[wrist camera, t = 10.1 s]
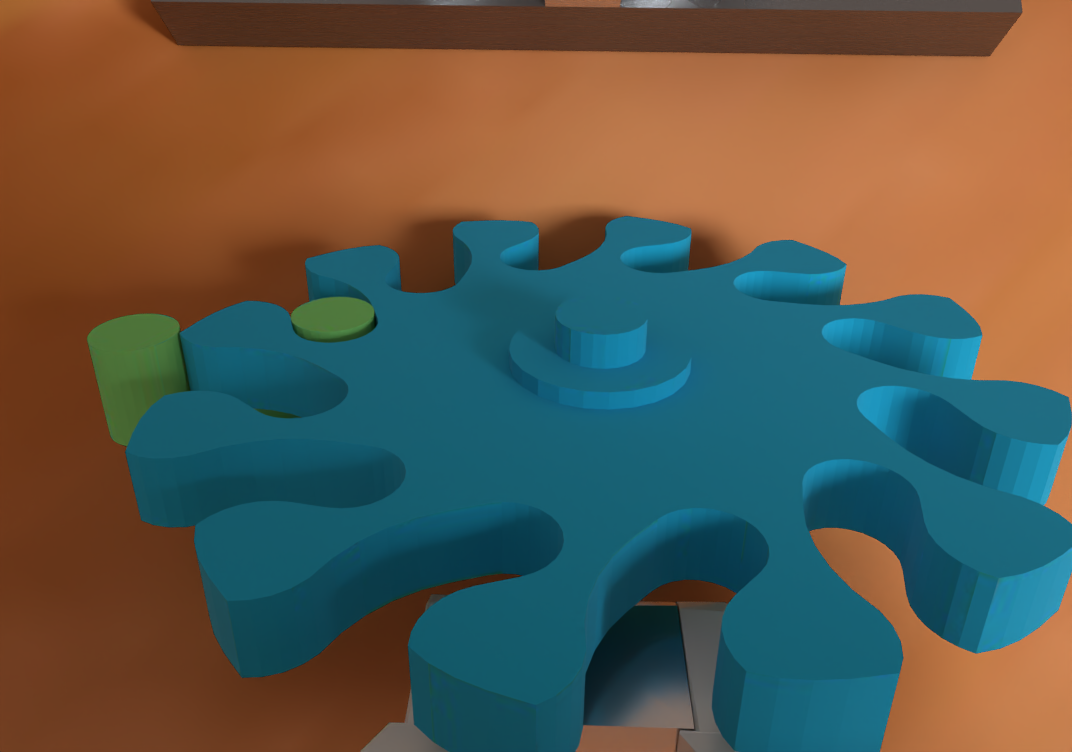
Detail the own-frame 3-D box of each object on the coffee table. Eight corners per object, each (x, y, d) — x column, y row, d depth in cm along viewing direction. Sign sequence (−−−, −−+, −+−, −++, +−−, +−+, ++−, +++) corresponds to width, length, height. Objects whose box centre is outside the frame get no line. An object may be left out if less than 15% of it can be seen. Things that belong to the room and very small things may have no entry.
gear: (1002, 207, 14) (1337, 768, 5) (921, 536, 17) (1058, 1249, 8) (291, 154, 16) (-274, 496, 8) (325, 454, 19) (-59, 952, 10)
